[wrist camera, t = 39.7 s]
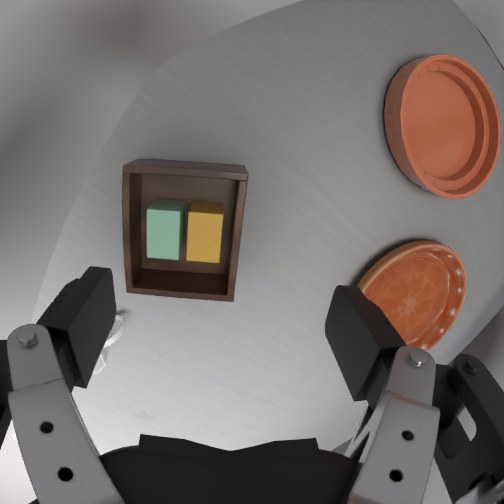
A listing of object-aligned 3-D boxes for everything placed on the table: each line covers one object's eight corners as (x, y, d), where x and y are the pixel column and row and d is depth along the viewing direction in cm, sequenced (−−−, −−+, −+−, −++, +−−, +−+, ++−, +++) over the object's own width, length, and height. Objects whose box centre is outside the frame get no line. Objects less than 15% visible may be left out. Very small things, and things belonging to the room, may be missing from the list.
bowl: (389, 38, 28) (407, 31, 24) (486, 87, 30) (505, 88, 26) (371, 176, 36) (388, 184, 31) (469, 201, 38) (487, 209, 34)
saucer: (349, 238, 39) (360, 249, 35) (467, 234, 40) (481, 242, 37) (329, 364, 48) (335, 379, 45) (434, 342, 50) (443, 354, 46)
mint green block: (155, 198, 34) (146, 209, 30) (185, 200, 34) (180, 211, 30) (154, 242, 36) (146, 257, 32) (183, 244, 37) (178, 260, 32)
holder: (137, 158, 32) (122, 165, 27) (244, 165, 34) (248, 173, 29) (137, 270, 38) (126, 292, 33) (232, 278, 40) (233, 301, 35)
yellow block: (192, 201, 34) (188, 211, 30) (223, 203, 35) (223, 214, 31) (190, 244, 37) (186, 260, 33) (219, 247, 37) (219, 263, 33)
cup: (71, 310, 40) (50, 343, 32) (117, 289, 39) (99, 323, 32) (97, 343, 43) (81, 378, 35) (144, 326, 42) (132, 364, 34)
